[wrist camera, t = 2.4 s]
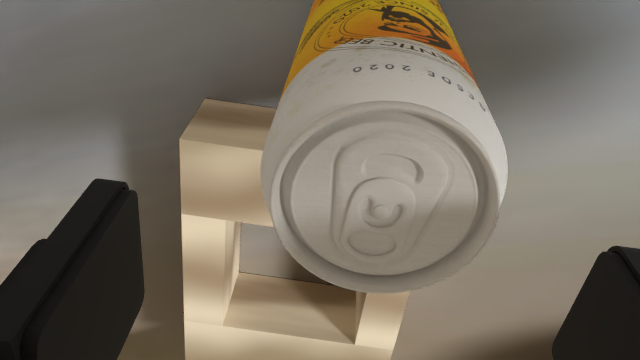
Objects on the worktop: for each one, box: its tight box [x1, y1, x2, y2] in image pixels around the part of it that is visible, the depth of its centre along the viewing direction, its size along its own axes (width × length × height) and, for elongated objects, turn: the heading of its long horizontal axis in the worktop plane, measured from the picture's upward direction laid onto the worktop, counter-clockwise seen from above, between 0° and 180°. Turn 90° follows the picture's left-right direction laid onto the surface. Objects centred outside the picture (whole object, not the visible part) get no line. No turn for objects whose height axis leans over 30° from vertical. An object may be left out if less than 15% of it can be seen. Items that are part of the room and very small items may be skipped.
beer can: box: [260, 0, 508, 294], centre depth 19 cm, size 6×6×15 cm
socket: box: [179, 99, 410, 360], centre depth 30 cm, size 16×12×4 cm
